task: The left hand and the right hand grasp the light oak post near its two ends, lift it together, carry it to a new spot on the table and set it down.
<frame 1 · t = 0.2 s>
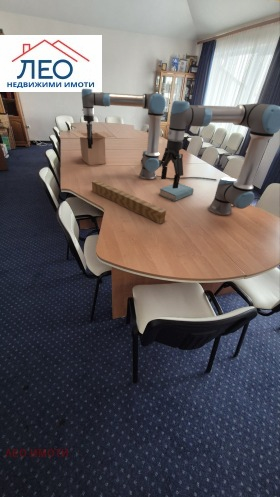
left hand: (90, 146, 173), 28 cm above the table, tool pointing down, fingers open, 13 cm apart
right hand: (169, 183, 118), 27 cm above the table, tool pointing down, fingers open, 13 cm apart
post: (124, 204, 156), on the table
book: (176, 194, 176), on the table
laser sight: (151, 165, 239), on the table
box: (93, 161, 237), on the table
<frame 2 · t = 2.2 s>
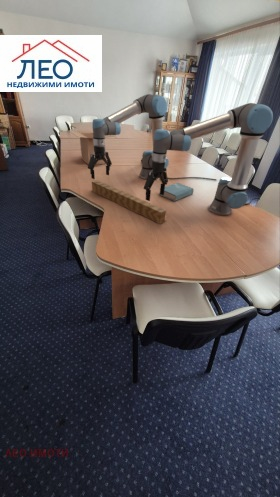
left hand: (100, 176, 162), 13 cm above the table, tool pointing down, fingers open, 13 cm apart
right hand: (154, 197, 135), 14 cm above the table, tool pointing down, fingers open, 13 cm apart
nothing on the table moved.
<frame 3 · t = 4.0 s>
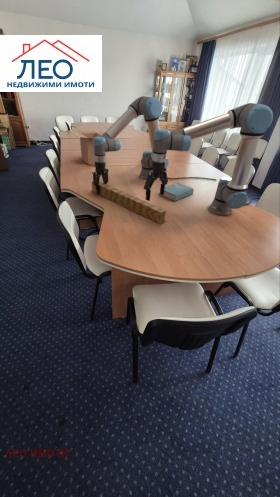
left hand: (101, 192, 169), 1 cm above the table, tool pointing down, fingers closed on post, 5 cm apart
right hand: (154, 197, 135), 14 cm above the table, tool pointing down, fingers open, 13 cm apart
post: (124, 204, 156), on the table, touching left hand
everything else where it was.
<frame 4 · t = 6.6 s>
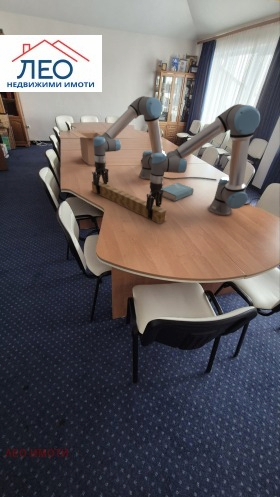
left hand: (101, 192, 169), 1 cm above the table, tool pointing down, fingers closed on post, 5 cm apart
right hand: (152, 216, 143), 1 cm above the table, tool pointing down, fingers closed on post, 5 cm apart
post: (124, 204, 156), on the table, touching left hand, right hand
everything else where it was.
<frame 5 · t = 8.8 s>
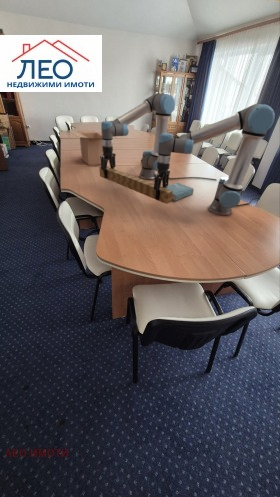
left hand: (108, 177, 173), 9 cm above the table, tool pointing down, fingers closed on post, 5 cm apart
right hand: (159, 198, 147), 9 cm above the table, tool pointing down, fingers closed on post, 5 cm apart
post: (132, 187, 160), point 8 cm above the table, touching left hand, right hand
everything else where it was.
when the left hand's fingers open (2 cm above the table, at t = 11.0 s): post drops 2 cm, on the table.
when the right hand's fingers open (2 cm above the table, at t = 11.1 s): post drops 1 cm, on the table.
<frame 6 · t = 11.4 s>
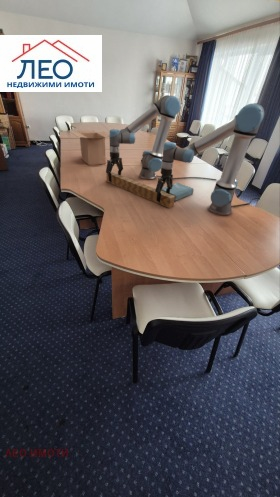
left hand: (114, 179, 186), 3 cm above the table, tool pointing down, fingers open, 10 cm apart
right hand: (162, 199, 160), 3 cm above the table, tool pointing down, fingers open, 10 cm apart
post: (136, 192, 175), on the table
everything else where it was.
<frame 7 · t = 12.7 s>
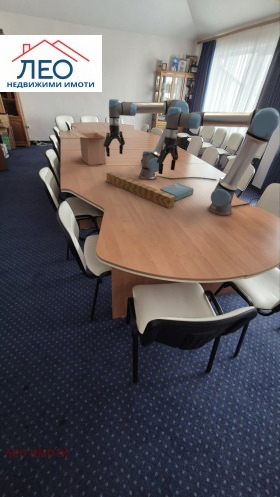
left hand: (114, 155, 174), 23 cm above the table, tool pointing down, fingers open, 13 cm apart
right hand: (166, 171, 148), 23 cm above the table, tool pointing down, fingers open, 13 cm apart
nothing on the table moved.
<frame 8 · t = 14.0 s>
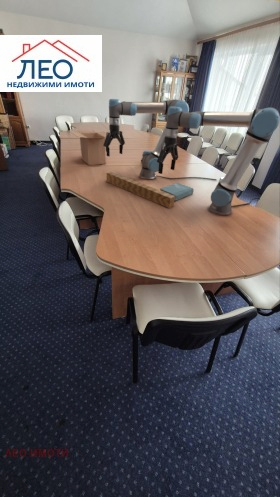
left hand: (114, 154, 174), 23 cm above the table, tool pointing down, fingers open, 13 cm apart
right hand: (166, 171, 148), 23 cm above the table, tool pointing down, fingers open, 13 cm apart
nothing on the table moved.
at the end: post inside the target area (0.1 cm from its centre), on the table; post tilted 0°; post never tilted more than 2° during the clip; both hands held the post at the same time; the left hand is holding nothing; the right hand is holding nothing; post at rest at the end (0.0 cm/s) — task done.
